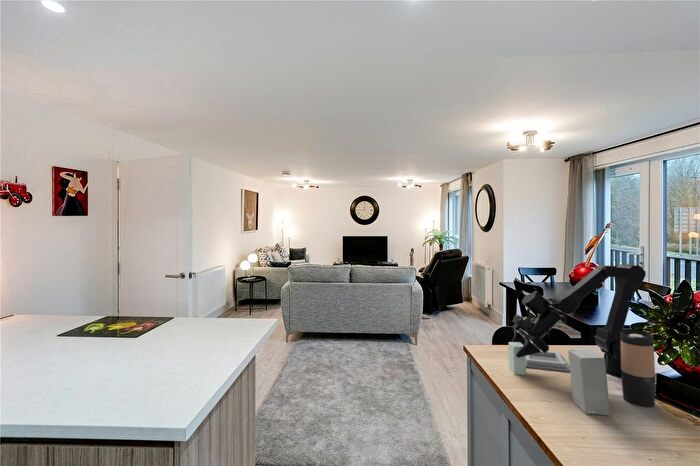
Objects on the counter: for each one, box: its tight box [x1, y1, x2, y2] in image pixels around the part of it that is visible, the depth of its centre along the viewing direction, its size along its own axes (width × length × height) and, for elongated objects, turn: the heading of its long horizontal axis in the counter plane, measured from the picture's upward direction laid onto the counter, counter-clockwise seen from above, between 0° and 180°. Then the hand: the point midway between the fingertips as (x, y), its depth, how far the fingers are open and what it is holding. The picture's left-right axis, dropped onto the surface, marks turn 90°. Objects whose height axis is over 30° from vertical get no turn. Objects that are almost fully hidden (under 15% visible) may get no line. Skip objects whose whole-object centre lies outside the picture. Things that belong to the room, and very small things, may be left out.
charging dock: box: [526, 350, 570, 373], centre depth 130 cm, size 16×16×2 cm
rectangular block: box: [508, 341, 527, 375], centre depth 122 cm, size 4×5×10 cm
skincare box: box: [567, 349, 611, 416], centre depth 96 cm, size 8×7×16 cm
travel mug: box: [620, 330, 656, 408], centre depth 99 cm, size 8×8×20 cm
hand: (513, 352), depth 122 cm, fingers open, 7 cm apart
